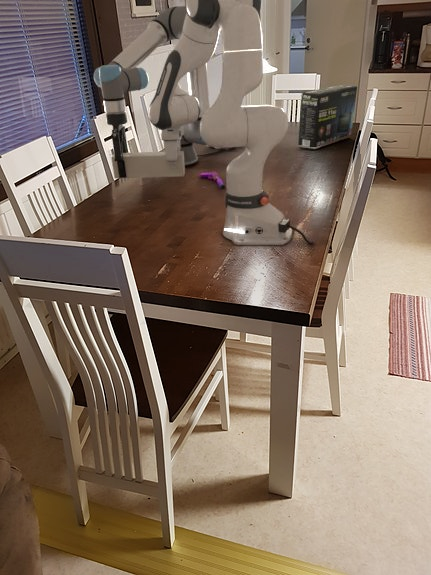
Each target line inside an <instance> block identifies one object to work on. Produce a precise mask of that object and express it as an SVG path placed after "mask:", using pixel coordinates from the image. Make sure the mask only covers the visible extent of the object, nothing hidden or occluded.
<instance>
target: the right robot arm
mask: <svg viewBox="0 0 431 575" xmlns="http://www.w3.org/2000/svg"><path fill="white" fill-rule="evenodd" d="M184 6H185V8H186V12H187V13H186V17H185V21H184V25H183V30H182V34H181V37H180V39H178V41H177V43H176V45H175V47H174V48H173V49H172V51H171V52H170V53H169V54H168V56H167V57H166V60H165V63H164V66H163V69H162V72H161V75H160V78H159V80H158V84H157V88H156V91H155V93H154V96H153V98H152V100H151V102H150V104H149V106H148V119H149V121H150V123H151V124H152V125H153V126H154V128H157V129H158V130H159V131H160V132H159V133H160V139H161V141H162V143H163V149H164V152H165V156H166V160H167V162H171V166H172V170H176V169H177V164H176V161H177V158H178V154H179V151H180V149H181V136H183V135H184V125H185V124H190V123H193V122H196V121H197V120H198V118H199V115H200V104H199V102H198V100H197V99H196V98H195V97H194V96H193V95H189V92H186V91H185V90H184V89H182V87H181V84H180V83H179V82H180V80H181V79H182V78H183V77H185V76H187V73H189V72H190V71H192V70H194V69H196V68H198V67H201V66H203V65H204V64H207V63H208V62H210V61H211V59H212V57H213V56H214V54H215V51H216V49H217V45H218V40H219V36H220V34H221V60H222V63H221V64H222V65H221V67H222V74H221V84H220V90H219V93H218V94H217V97H216V100H215V101H214V102H213V104H212V105H210V109H209V110H208V111H206V112H205V114H204V115H203V117H202V119H201V121H200V134H201V137H202V139H203V141H204V142H205V143H206V144H207V145H208V146H213V147H212V148H214V147H221V148H228V147H232V148H238V147H245V148H244V149H243V151H242V153H241V154H240V155H238V156H237V157H234V158H233V159H232V160H231V161H230V162H229V163H228V165H226V169H225V177H226V178H225V179H226V180H225V183H226V190H225V194H224V205H225V209H226V210H225V218H224V219H225V220H224V226H223V229H222V235H223V237H225V239H228V240H230V241H232V243H233V244H234V245H236V246H283V245H286V244H288V243H289V242H290V240H291V239H292V237H293V231H295V232H297V233H298V234H300V235H301V237H302V238H303V240H304V242H305V243H306V244H308V245H314V244H315V243H314V241H310V240H308V238H307V237H306V235H305V234H304V233H303V232H302V231H301V230H300V229H298V228H296V227H294V226H292V225H291V219H290V218H285V215H284V213H283V212H282V211H280V210H279V209H278V208H277V207H276V206H275V205H272V204H271V203H270V202H269V194H270V192H269V191H267V192H266V191H265V190H263V178H264V169H265V164H266V162H267V159H268V156H269V155H270V154H271V152H272V151H273V149H274V148H275V147H276V146H277V145H278V144H279V143H280V142H282V141H283V140H284V139H285V137H286V135H287V133H288V130H289V118H288V115H287V112H286V111H285V110H284V109H283V108H282V107H281V106H275V105H270V104H261V105H260V104H259V105H242V104H243V101H244V98H245V97H246V96H247V95H248V94H250V93H252V92H253V91H255V90H256V89H257V88H258V87H259V86H260V85H261V84H262V82H263V78H264V61H263V55H264V54H263V48H264V46H263V32H262V25H261V19H260V14H261V11H262V0H184ZM207 145H206V146H207Z"/></svg>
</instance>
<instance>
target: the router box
mask: <svg viewBox="0 0 431 575" xmlns="http://www.w3.org/2000/svg"><path fill="white" fill-rule="evenodd" d="M357 93H358V86H356V85H350V84H339V85H338V84H337V85H334V86H328V87H324V88H318V89H314V90H309V91H304V92H301V93H300V109H299V110H300V111H299V124H298V137H297V146H298V145H302V146H307V147H317V146H320V145H323V144H325V143H328V142H331V141H333V140H336V139H338V138H341V137H344V136H347V135H351V136H352V133H353V132H352V131H353V125H354V115H355V109H356V99H357ZM311 151H313V150H312V149H311Z"/></svg>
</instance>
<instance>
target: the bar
mask: <svg viewBox="0 0 431 575" xmlns="http://www.w3.org/2000/svg"><path fill="white" fill-rule="evenodd" d="M123 159H124V161H125V168H126V176H127V177H126V178H125V179H141V178H145V179H146V178H174V177H175V178H179V177H185V174H186V168H185V167H186V166H185V164H184V151H179V154H178V158H177V161H176V164H177V169H176V170H172V166H171V162H167V160H166V156H165V151H143V152H142V151H141V152H139V151H137V152H127V153H123ZM111 163H112V170H113V176H114V179H120V178H119V172H118V165H117V161H115V155H114V153H113V154H112V155H111Z"/></svg>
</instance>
